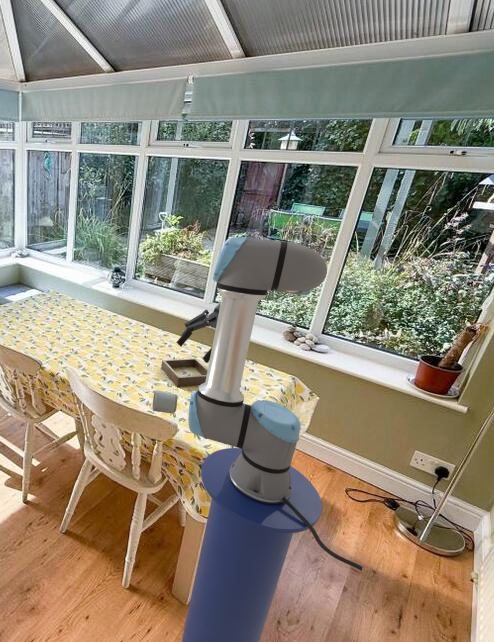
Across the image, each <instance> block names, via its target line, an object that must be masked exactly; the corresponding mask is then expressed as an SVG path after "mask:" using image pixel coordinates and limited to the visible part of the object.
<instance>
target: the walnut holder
mask: <svg viewBox="0 0 494 642" xmlns="http://www.w3.org/2000/svg"><path fill="white" fill-rule="evenodd" d="M188 367H190V368H195V370H196V371H198V372H199V375H185V376H180V375H179V374H178V373H177V372H176V371H175V370H174V369H177V368H178V369H179V368H188ZM160 368H161V370H162V371H163V372H164V373H165V374H166V376H167V377H168V378H169V380H170V381H171V383H173V384H174V385H175V387H176V388H186V387H187V388H188V387H189V388H190V387H199V386H200V385H201V384H203V383H205V382H206V377H207V371H208V367H206V366H205V365H204V364H203V363H202V362H201V361H199V360H198V358H196V357H194V358H192V357H191V358H175V359H173V358H172V359H162V360H161V366H160Z"/></svg>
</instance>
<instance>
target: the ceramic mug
mask: <svg viewBox="0 0 494 642" xmlns="http://www.w3.org/2000/svg"><path fill="white" fill-rule="evenodd" d="M152 397H153V398H152V404H151V405H152V408H151V409H152V412H156V413H157V412H159V413H165V414H175V413H176V411H177V407H178V396H177V394H175V393H173V392H169V391H163V390H158V389H155V390H154V392H153V396H152Z"/></svg>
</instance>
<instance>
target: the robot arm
mask: <svg viewBox="0 0 494 642" xmlns="http://www.w3.org/2000/svg"><path fill="white" fill-rule="evenodd" d="M327 275H328V266H327V262H326V261H325V259H324V258H323V257H322V256H321V254H319V253H318V252H317V251H316V250H314V249H312V248H311V247H308V246H307V245H304V244H301V243H297V242H293V241H280V240H272V239H271V240H270V239H262V238H255V237H254V238H253V237H248V236H245V237H244V236H243V237H236V236H232V237H229V238H227V239H226V240H225V242H224V243H223V245H222V248H221V250H220V253H219V255H218V258H217V262H216V264H215V268H214V272H213V275H212V280H213V282H216V283H217V287H216V290H217V291H218V292H219V294H220V295H221V300H220V301H219V302H218V304H217V305H216V306H215V307H214V309H213V311H212V312H210V311H209V310H208V309H205V310H204V311H202V312H201V313H200V314H198V315H197V316H195V317H193V318H191V319H189V320H188V321H186V322H184V324H183V325H184V327H185V330H184V331H183V332H182V333H181V336H180V337H179V338H178V340H176V342H175V343H176V344H177V345H178V346H179V347H182V346H184V344H185V343H186V342H187V341H188V339H190V337H191V336H192V335H193V332H194V331H197V330H200V329H203V328H207V327H210V328H212V329H214V336H213V341H212V346H211V347H210V349H208V351H207V352H206V353H205V354H204V356H202V358H201V359H202V361H203V362H204V363H206V364H208V366H207V369H208V371H207V377H206V382H205V383H203V384H201V385H200V386H197V387H198V388H197V390H193V391H192V392H191V394H190V398H189V406H188V415H187V417H188V419H187V420H188V422H187V423H188V429H189V431H190V432H191V433H192V434H193V435H196V436H199V437H201V438H203V439H205V440H210V441H213V442H217V443H221V444H224V445H227V446H231V447H233V448H241V449H242V452H241V453H240V455H239V456H238V458H237V459H236V461H235V462H234V463H233V464H232V466H231V468H230V472H229V479H230V482H231V484H232V485H233V487H234V488H235V489H236V490H237V491H238V492H239V493H241V494H242V495H243V496H245V497H246V498H248V499H250V500H252V501H255V502H257V503H260V504H264V505H281V504H284V503H286V504H287V505H288V506H289V507H290V508H291V509H292V510H293V511H294V513H295V514H296V515H297V516H298V517H299V518H300V519H301V520H302V521H303V522H304V523H305V524H306V525H307V527H308V528H309V529H308V530H309V531H310V533H311V534H312V536H313V538H314V539H315V541H316V543H317V544H318V545H319V547H320V548H321V549H322V550H323V551H325V552H326V553H327V554H328V555H329V556H331V557H333V558H334V559H336V560H337V561H339V562H342V563H344V564H346V565H348V566H351V567H353V568H355V569H356V570H359V571H363V569H364V566H362V565H360V564H359V563H356V562H354V561H351V560H349V559H347V558H345V557H343V556H341V555H339V554H337V553H335V552H334V551H332V550H331V549H330V548H329V547H328V546H326V545H325V544H324V543H323V541H322V540H321V538H320V536H319V535H318V533H317V531H316V529H315V528H314V526H313V527H312V525H311V524H310V523H309V522H308V521H307V520H306V519H305V518H304V517H303V515H302V514H301V513H300V512H299V511H298V510H297V509H296V508H295V507H294V506H293V505H292V504H291V503H290V502H289V501H288V500H289V498H290V495H291V492H292V486H291V478H290V471H289V469H290V466H291V465H292V461H293V457H294V455H295V452H296V447H297V444H298V442H299V440H300V433H301V421H300V419H299V418H298V416H297V415H296V414H295V413H294V412H293V411H292V410H290V409H289V408H287V407H286V406H284V405H282V404H280V403H277V402H275V401H272V400H268V399H262V400H261V399H258V400H255V401H254V402H253V403H252V404H247V403H245V402H244V400H245V396H244V394H243V393H242V392H241V390H240V389H241V384H242V379H243V374H244V370H245V365H246V360H247V356H248V351H249V346H250V343H251V336H252V332H253V327H254V324H255V319H256V314H257V308H258V304H259V302H260V301H261V300H263V299H264V298H265V297H267V294H268V291H269V292H270V291H271V292H278V293H283V294H291V295H296V296H308V295H309V294H311V293H310V292H311V291H312V290H315V289H316V288H318V287H320V285H322V284H323V283H324V282H325V279H326V278H327Z"/></svg>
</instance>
